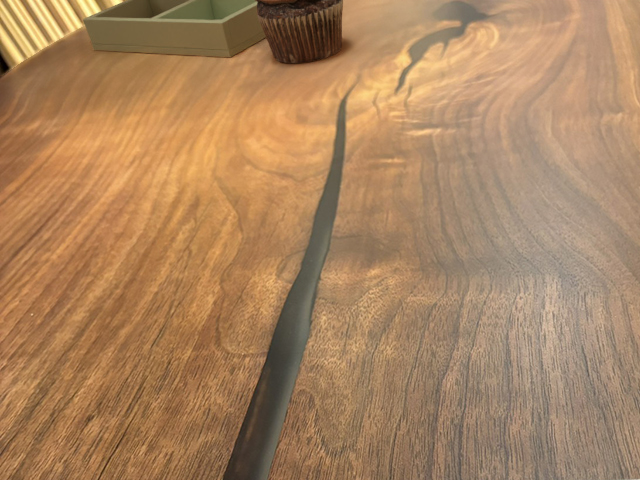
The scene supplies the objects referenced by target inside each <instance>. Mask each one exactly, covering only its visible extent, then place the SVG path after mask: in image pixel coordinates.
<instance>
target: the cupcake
mask: <svg viewBox="0 0 640 480" xmlns="http://www.w3.org/2000/svg"><path fill="white" fill-rule="evenodd" d="M255 1H257V2H258V3H257V16H258V19H259V22H260V24H261V26H262V28H263V31H264V33H265V36H266V37H265V39H266V41H267V44H268V46H269V48H270V51H271V54H272V56H273V58H274V59H275V60H276V61H277V62H280V63H283V64H304V63H311V62H316V61H320V60H321V61H322V60H324V59H327V58H329V57H330V56H334V55H336V54H337V53H339V52H340V51H341V49H342V47H343V9H344V6H343V5H344V0H255Z"/></svg>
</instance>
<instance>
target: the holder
mask: <svg viewBox="0 0 640 480" xmlns="http://www.w3.org/2000/svg"><path fill="white" fill-rule="evenodd" d="M257 3H258V2H257V1H255V0H124V1H122V2H119V3H117V4H115V5H113V6H109V7H108V8H105V9H103V10H101V11H98V12H96V13H93V14H91V15H89V16H87V17H84V18H82V21H83V22H82V23H83V24H84V27H85V29H86V32H87V35H88V38H89V41H90V43H91V47H92V49H93V51H101V52H102V51H104V52H119V53H120V52H122V53H141V54H156V55H157V54H159V55H177V56H193V57H195V56H196V57H197V56H198V57H213V58H232V57H234V56H236V55H237V54H239V53H241V52H243V51H244V50H246V49H248V48H250V47H252V46H253V45H255V44H257V43H258V42H260V41H262V40H264V39H266V36H265V33H264V31H263V28H262V26H261V24H260V22H259V19H258V16H257Z"/></svg>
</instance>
